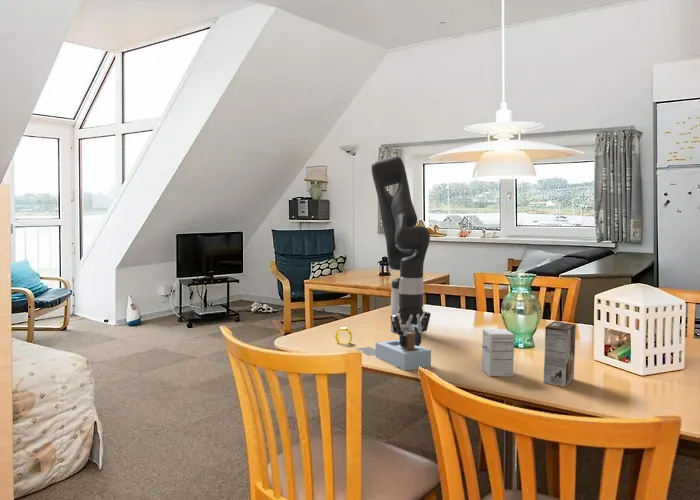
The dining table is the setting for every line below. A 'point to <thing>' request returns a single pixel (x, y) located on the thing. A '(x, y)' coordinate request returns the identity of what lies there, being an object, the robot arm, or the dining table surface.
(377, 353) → the hole block
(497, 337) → the supplement box
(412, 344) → the dowel
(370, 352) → the mat
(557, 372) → the coffee box
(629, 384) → the dining table surface
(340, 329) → the watch
